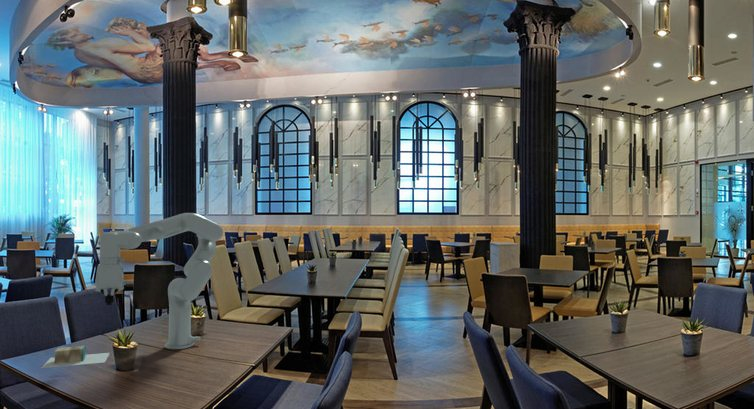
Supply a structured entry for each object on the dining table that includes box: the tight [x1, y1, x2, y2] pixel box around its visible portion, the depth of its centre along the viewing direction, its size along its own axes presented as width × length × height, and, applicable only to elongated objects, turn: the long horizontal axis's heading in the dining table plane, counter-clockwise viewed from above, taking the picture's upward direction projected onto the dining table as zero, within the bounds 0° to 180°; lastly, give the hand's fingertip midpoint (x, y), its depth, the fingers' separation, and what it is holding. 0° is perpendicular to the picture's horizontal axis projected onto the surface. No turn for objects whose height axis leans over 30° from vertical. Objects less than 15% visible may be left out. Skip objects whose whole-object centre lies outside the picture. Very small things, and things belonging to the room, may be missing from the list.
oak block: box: [54, 345, 87, 364], centre depth 198 cm, size 5×5×10 cm
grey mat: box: [41, 352, 110, 369], centre depth 199 cm, size 22×14×1 cm, turn 112°
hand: (109, 304), depth 203 cm, fingers closed
